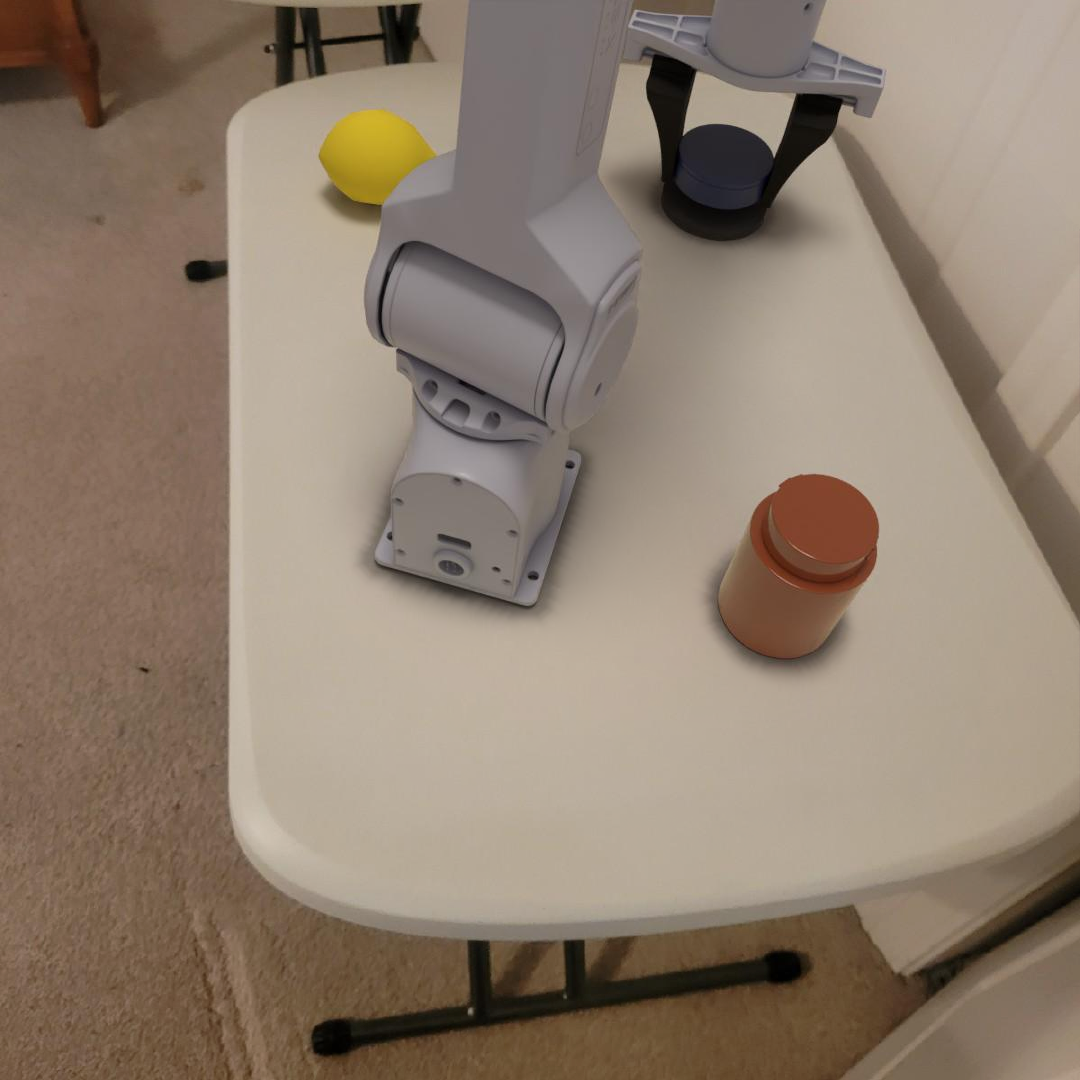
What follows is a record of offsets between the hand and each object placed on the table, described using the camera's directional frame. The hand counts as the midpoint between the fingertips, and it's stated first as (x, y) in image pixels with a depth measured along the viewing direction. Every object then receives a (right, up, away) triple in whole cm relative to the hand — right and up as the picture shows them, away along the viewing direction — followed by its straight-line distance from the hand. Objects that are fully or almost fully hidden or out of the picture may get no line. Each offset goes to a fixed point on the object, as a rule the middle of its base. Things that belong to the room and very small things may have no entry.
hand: (718, 186), depth 64 cm
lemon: (-21, -1, -1) cm, 21 cm away
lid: (0, +1, -2) cm, 2 cm away
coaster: (0, -1, +1) cm, 2 cm away
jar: (0, -26, -15) cm, 30 cm away
